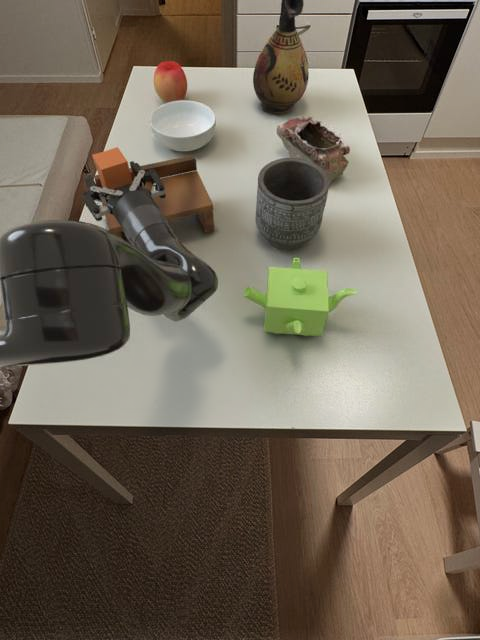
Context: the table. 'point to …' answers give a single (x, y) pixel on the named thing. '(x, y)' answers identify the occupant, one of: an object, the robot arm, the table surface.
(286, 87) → the ceramic jug
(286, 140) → the decorative box
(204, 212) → the shelf
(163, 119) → the cereal bowl
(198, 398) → the table surface
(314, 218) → the planter
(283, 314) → the kettle
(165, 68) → the apple
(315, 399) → the table surface
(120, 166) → the carton
